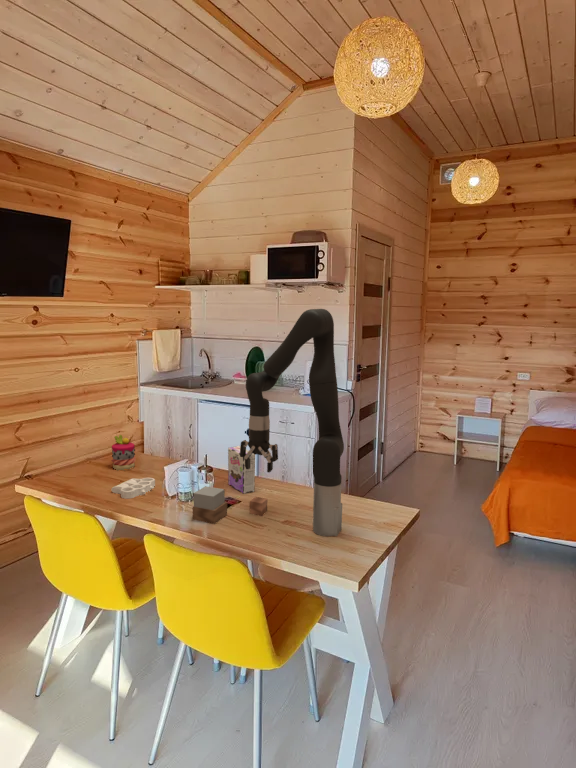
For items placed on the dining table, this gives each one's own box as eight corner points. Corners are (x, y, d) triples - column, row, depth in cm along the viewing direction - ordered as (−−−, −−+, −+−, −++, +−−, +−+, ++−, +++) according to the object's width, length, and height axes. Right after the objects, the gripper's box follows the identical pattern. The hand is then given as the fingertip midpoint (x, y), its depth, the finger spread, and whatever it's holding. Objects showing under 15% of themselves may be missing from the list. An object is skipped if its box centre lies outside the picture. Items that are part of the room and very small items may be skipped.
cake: (139, 464, 245) (138, 434, 243) (129, 471, 235) (128, 439, 233) (118, 463, 247) (117, 433, 245) (108, 470, 236) (106, 438, 234)
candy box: (227, 484, 220) (227, 447, 218) (239, 482, 223) (239, 445, 221) (242, 494, 208) (243, 455, 206) (255, 491, 212) (255, 453, 209)
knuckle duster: (134, 482, 222) (163, 487, 216) (105, 496, 205) (136, 501, 200) (134, 475, 221) (163, 479, 216) (105, 488, 204) (135, 493, 199)
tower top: (224, 502, 186) (224, 489, 186) (213, 510, 179) (213, 496, 178) (205, 499, 189) (205, 486, 189) (193, 506, 182) (193, 493, 181)
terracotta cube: (267, 511, 191) (267, 498, 190) (261, 516, 187) (261, 503, 186) (255, 509, 193) (255, 496, 192) (249, 514, 188) (249, 501, 188)
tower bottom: (227, 515, 187) (227, 502, 187) (214, 524, 179) (214, 510, 178) (205, 511, 191) (205, 498, 190) (192, 520, 182) (192, 506, 182)
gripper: (281, 427, 186) (280, 470, 188) (246, 423, 191) (245, 465, 194) (273, 431, 179) (272, 476, 181) (236, 427, 184) (236, 470, 187)
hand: (258, 470), depth 187 cm, fingers open, 8 cm apart
